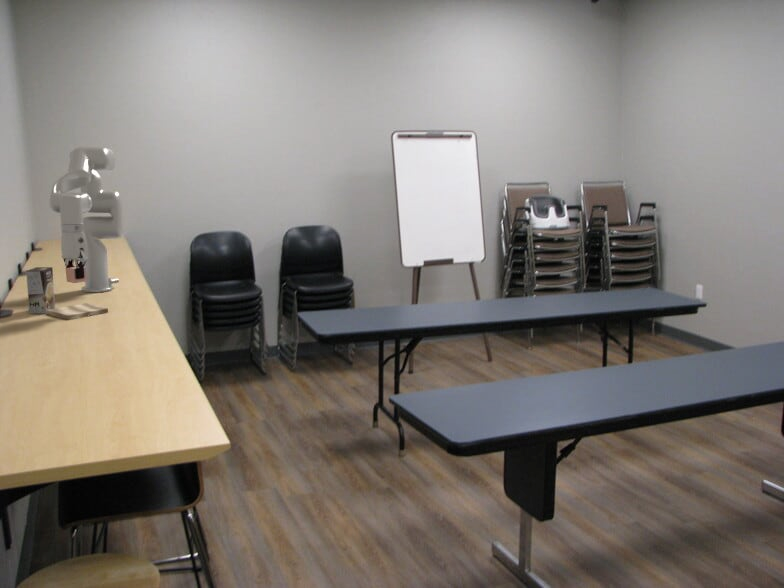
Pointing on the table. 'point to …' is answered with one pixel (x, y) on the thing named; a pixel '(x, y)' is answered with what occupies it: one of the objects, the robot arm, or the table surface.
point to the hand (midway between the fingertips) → (75, 277)
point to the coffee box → (40, 289)
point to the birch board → (77, 311)
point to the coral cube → (71, 275)
